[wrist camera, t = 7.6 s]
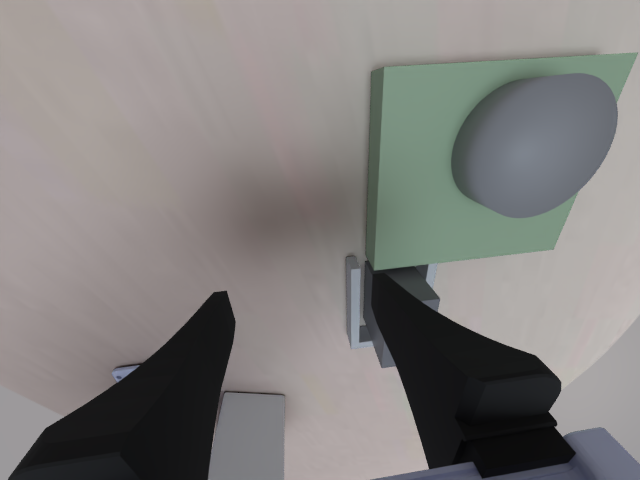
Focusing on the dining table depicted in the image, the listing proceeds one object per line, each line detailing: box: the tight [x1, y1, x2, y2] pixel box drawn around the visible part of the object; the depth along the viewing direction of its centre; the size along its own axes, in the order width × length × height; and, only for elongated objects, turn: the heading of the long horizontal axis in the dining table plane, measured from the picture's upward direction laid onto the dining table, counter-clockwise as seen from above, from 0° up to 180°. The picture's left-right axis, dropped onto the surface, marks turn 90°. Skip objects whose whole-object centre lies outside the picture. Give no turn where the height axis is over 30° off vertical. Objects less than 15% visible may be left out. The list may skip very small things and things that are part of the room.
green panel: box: [346, 53, 638, 349], centre depth 20 cm, size 24×18×6 cm
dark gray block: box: [363, 261, 440, 368], centre depth 23 cm, size 7×4×6 cm, turn 3°
